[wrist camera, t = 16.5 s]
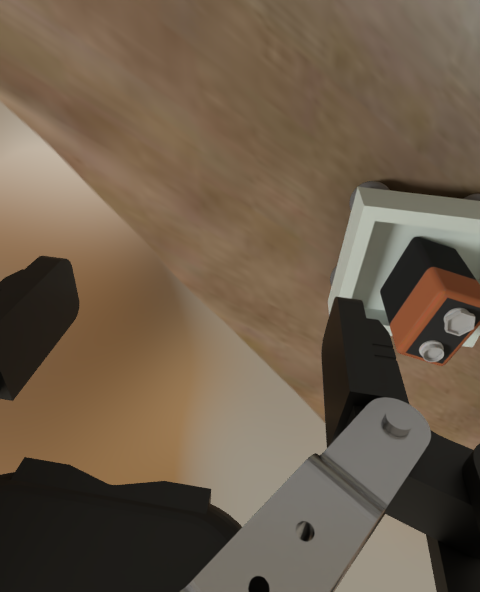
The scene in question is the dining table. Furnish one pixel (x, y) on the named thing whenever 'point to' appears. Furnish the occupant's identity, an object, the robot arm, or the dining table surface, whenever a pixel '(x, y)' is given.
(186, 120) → the dining table surface
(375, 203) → the cart
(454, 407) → the dining table surface
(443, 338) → the battery
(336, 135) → the dining table surface
